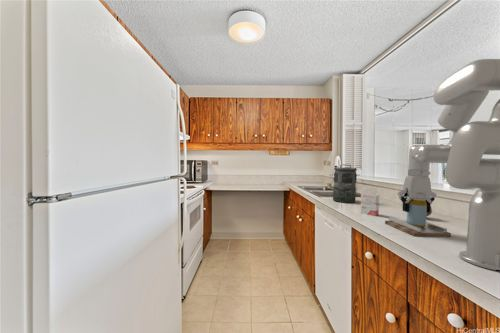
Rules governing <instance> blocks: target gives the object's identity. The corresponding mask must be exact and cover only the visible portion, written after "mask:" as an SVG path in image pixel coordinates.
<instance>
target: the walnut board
mask: <svg viewBox="0 0 500 333" xmlns="http://www.w3.org/2000/svg"><path fill="white" fill-rule="evenodd" d="M384 224H385V225H387V226H389V227H392V228H395V229H397V230H399V231H401V232H403V233H406V234H408V235H411V236H412V237H441V238H442V237H446V238H450V237H451V236H452V233H451V232H448V231H447V232H444V233H421V232H417V231H415V230H412V229H410V228H407V227H405V226H402V225H400V224H397V223H395V222H392V221H390V220H385V221H384Z"/></svg>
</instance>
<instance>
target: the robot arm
mask: <svg viewBox="0 0 500 333" xmlns="http://www.w3.org/2000/svg"><path fill="white" fill-rule="evenodd" d="M491 91H500V58H482V59H481V58H480V59H476V60H474V61H472V62H469V63H468V64H465V65H464V66H462V67H461V68H460V69H458V70H457V71H456V72H453V73H452V74H451V75H450V76H448V77H446V78H445V79H444V80H442V81H441V83H439V85H438V86H437V87H436V88H435V91H434V94H433V100H434V103H435V104H437V105H439V106H444V109H443V110H442V112H441V113H440V116H439V117H438V119H437V122H438V123H437V124H439V125H440V127H442V128H444V129H446V130H448V131H450V132H451V133H452V137H451V138H450V140H449V141H448V143H447V144H421V145H416V146H411V147H410V148H409V152H408V168H407V170H408V171H407V176H405V180H404V182H403V185H402V186H403V188H402V190H400V191H398V192H397V196H398V197H399V200H400V201H401V203H402V207H401V209H402V211H403V212H405V213H407V212H409V205H410V204H409V203H408V202H409V201H410V200H411V199H416V194H417V193H421V194H425V193H426V203H427V213H430V205H432V204H433V202H434V201H435V199H436V198H437V193H436V192H433V191H432V184H431V179H430V178H431V177H429V176H430V175H431V171H430V164H435V163H436V164H446V165H445V172H444V177H445V181H446V182H447V184H448V185H449V186H451V187H453V188H455V189H458V190H468V191H469V190H470V191H471V190H472V191H473V190H476V191H475V192H474V193H473V195H471V197H470V201H469V205H468V207H469V208H468V220H467V234H466V236H467V237H466V248H465V250H462V251H460V252H459V254H458V256H459V258H460V259H462V260H464V261H465V262H467V263H469V264H472V265H474V266H477V267H480V268H485V269H488V270H492V271H496V270H500V158H488V157H487V158H485V157H484V158H483V156H485V155H486V156H489V155H491V156H500V98H499V99H498V100H496V103H495V104H494V106H493V108H492V109H491V114H490V117H489V119H488V120H487V121H486V120H483V121H482V120H479V121H478V120H476V121H471V119H472V118H473V116H474V115H475V114H476V112H477V111H478V109H479V108H480V107H481V105H482V104H483V103H484V101H485V99H486V98H487V96H488V95H489V93H490V92H491ZM470 121H471V122H470Z"/></svg>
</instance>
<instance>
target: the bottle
mask: <svg viewBox="0 0 500 333" xmlns="http://www.w3.org/2000/svg"><path fill="white" fill-rule="evenodd" d="M408 203H409V204H410V205H409V212H406V220H407V221H406V223H409V224H411V225H414V226H417V227H419V228H424V227H425V226H426V222H427V217H426V213H427V203H426V193H425V194H421V193H417V194H416V199H411V200H410V201H409V202H408Z"/></svg>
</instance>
